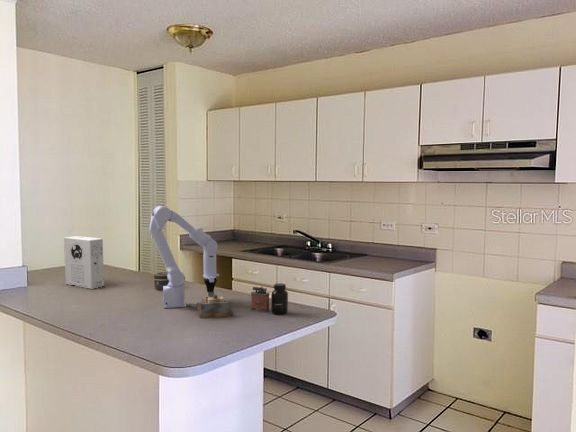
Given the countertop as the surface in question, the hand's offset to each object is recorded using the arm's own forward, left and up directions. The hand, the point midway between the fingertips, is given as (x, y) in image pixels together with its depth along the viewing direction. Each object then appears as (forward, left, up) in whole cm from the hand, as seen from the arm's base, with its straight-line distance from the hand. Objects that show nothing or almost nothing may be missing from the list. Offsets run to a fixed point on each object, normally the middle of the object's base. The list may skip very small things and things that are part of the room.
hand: (210, 294), depth 220 cm
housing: (+1, -18, -2) cm, 18 cm away
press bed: (0, -10, -3) cm, 10 cm away
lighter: (+19, -19, -3) cm, 27 cm away
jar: (-20, +33, -3) cm, 38 cm away
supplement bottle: (+26, -25, -3) cm, 37 cm away
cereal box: (-60, +50, -3) cm, 78 cm away
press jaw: (0, -7, -2) cm, 7 cm away
